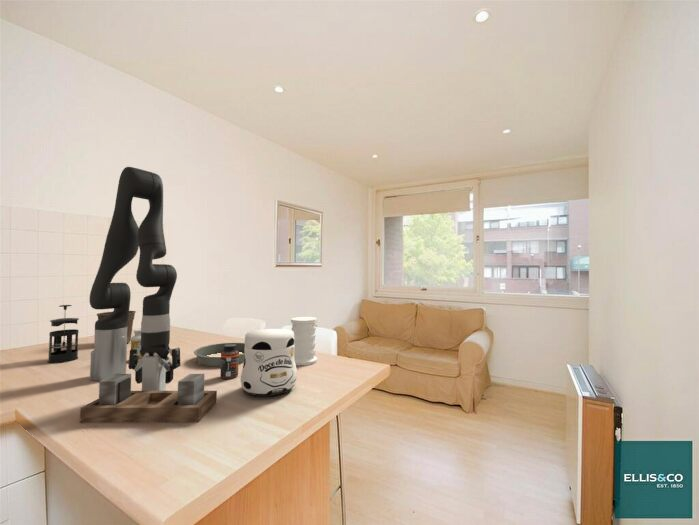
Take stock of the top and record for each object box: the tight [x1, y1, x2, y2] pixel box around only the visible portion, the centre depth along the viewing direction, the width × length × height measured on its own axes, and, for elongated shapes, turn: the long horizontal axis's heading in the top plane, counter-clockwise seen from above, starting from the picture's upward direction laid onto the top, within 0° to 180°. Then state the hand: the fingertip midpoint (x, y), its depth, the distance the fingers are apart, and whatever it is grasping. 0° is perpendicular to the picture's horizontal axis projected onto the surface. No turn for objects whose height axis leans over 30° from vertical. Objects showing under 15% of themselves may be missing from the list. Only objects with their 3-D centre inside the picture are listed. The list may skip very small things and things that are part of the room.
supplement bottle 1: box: [130, 328, 143, 363], centre depth 130 cm, size 7×7×13 cm
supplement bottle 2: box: [220, 344, 239, 380], centre depth 110 cm, size 6×6×11 cm
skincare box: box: [141, 356, 167, 391], centre depth 94 cm, size 6×4×12 cm
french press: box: [47, 304, 80, 364], centre depth 130 cm, size 12×9×23 cm
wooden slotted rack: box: [79, 373, 218, 424], centre depth 82 cm, size 29×11×9 cm, turn 91°
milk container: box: [240, 328, 298, 397], centre depth 99 cm, size 17×17×18 cm
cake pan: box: [193, 342, 245, 367], centre depth 133 cm, size 25×25×4 cm
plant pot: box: [96, 310, 137, 344], centre depth 159 cm, size 16×16×16 cm
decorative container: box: [290, 316, 318, 366], centre depth 130 cm, size 12×12×18 cm
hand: (154, 382), depth 94 cm, fingers open, 8 cm apart
